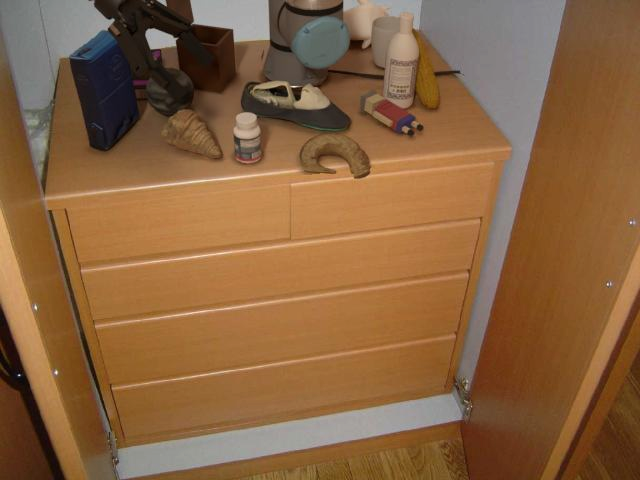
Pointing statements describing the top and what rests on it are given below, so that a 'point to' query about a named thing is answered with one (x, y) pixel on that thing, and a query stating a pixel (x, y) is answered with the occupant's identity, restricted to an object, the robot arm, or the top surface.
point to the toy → (389, 113)
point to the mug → (382, 37)
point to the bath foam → (401, 64)
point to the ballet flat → (293, 105)
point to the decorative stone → (164, 100)
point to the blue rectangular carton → (104, 90)
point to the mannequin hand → (363, 20)
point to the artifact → (335, 154)
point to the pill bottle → (247, 138)
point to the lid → (181, 9)
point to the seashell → (190, 134)
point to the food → (425, 77)
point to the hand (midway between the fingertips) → (197, 79)
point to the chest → (220, 68)
